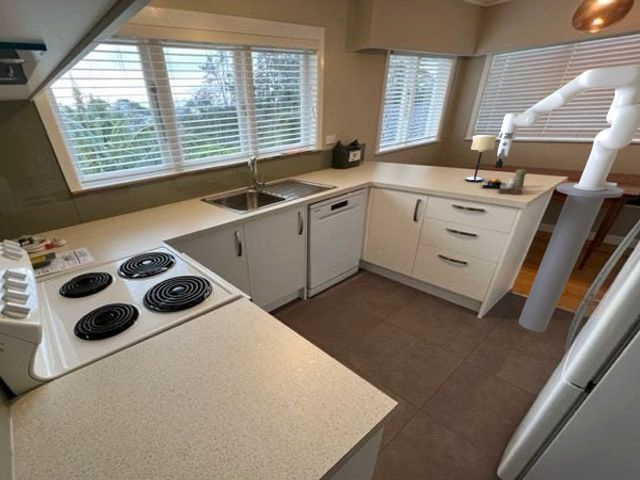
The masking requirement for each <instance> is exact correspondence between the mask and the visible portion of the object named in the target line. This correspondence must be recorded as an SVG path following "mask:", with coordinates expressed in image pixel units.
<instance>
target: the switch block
mask: <svg viewBox="0 0 640 480" xmlns="http://www.w3.org/2000/svg"><path fill="white" fill-rule="evenodd" d="M482 183H483V184H482V189H490V190H491V189H492V190H499V189H500V185H506V182H502V180H500V179H499V181H498V182H493V181H492V179H489V180H488V181H483V182H482Z"/></svg>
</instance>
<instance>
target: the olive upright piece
mask: <svg viewBox="0 0 640 480" xmlns="http://www.w3.org/2000/svg"><path fill="white" fill-rule="evenodd" d="M527 173H528V170H527V169H523V168H521V169H520V168H519V169H517V170H516V171H515V176H514V177H515V178H518V181H517V184H516V186H522V189H523V188H524V182H525V176H526V175H527Z"/></svg>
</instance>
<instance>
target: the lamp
mask: <svg viewBox="0 0 640 480" xmlns="http://www.w3.org/2000/svg"><path fill="white" fill-rule="evenodd" d="M497 137H498V136H497V135H495V134H479V135H474V136H473V138H472V142H471V148H470V149H471V150H473V151H478V153H479V154H478V159H477V162H476V167H475V171H474V175H473V176H467V177H465V182H468V183H484V177H480V176H478V173H479V172H478V171H479V167H480V164H481V159H482V155H483V152H485V151H491V150H494V147H495V144H496V140H497Z"/></svg>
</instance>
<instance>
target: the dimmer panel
mask: <svg viewBox="0 0 640 480" xmlns="http://www.w3.org/2000/svg"><path fill="white" fill-rule="evenodd" d="M507 185H508V184H505V185H500V189H498V194H500V195H501V194H502V195H514V196H515V195H517V196H521V195H522V192H523V188H522V186H516V187H515V188H508V187H507Z"/></svg>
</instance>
